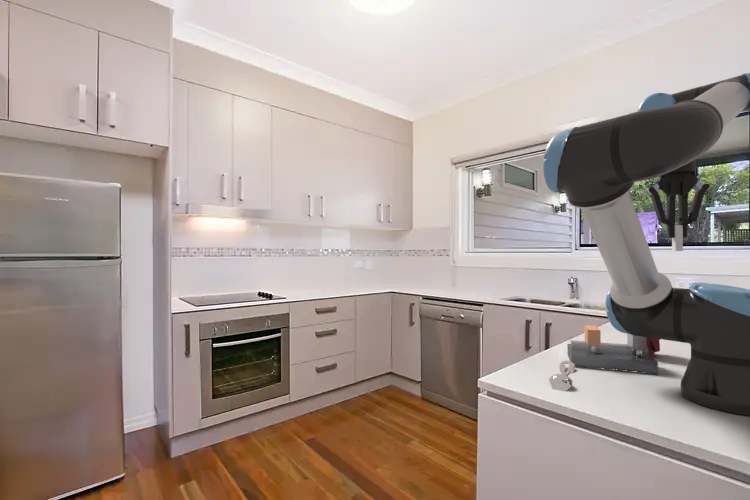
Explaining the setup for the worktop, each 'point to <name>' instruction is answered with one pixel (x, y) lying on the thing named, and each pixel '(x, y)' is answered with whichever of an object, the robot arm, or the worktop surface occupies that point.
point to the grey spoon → (562, 377)
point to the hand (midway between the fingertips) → (677, 250)
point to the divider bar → (617, 346)
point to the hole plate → (612, 360)
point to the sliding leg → (592, 336)
